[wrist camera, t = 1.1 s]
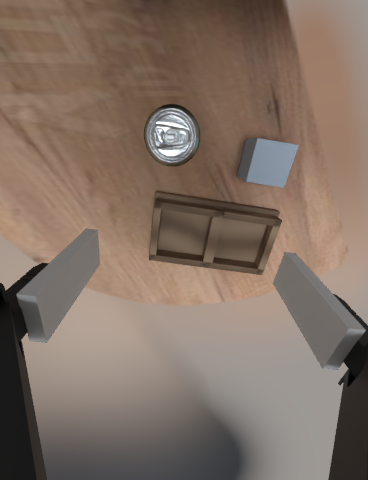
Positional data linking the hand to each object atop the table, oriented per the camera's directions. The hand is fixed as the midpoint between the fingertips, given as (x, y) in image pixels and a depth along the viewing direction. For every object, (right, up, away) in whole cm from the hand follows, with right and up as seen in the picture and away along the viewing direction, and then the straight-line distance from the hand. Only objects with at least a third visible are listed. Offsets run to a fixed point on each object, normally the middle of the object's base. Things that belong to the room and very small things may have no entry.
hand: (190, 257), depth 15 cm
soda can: (-2, +15, +14) cm, 21 cm away
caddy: (+4, +2, +20) cm, 20 cm away
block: (+10, +13, +15) cm, 22 cm away
